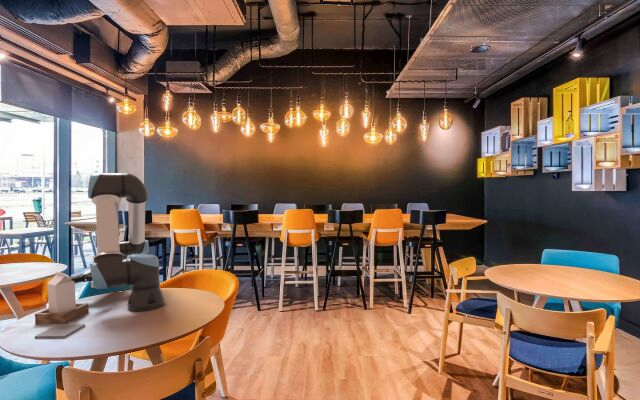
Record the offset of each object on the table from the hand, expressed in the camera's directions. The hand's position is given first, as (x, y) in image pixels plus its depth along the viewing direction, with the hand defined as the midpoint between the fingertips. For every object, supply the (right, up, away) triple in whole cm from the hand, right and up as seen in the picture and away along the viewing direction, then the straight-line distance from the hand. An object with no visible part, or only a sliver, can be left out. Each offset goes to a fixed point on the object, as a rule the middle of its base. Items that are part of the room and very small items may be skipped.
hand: (75, 285), depth 163 cm
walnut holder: (+1, -11, -9) cm, 15 cm away
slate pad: (+11, -12, -24) cm, 29 cm away
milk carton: (+1, -12, -9) cm, 15 cm away
